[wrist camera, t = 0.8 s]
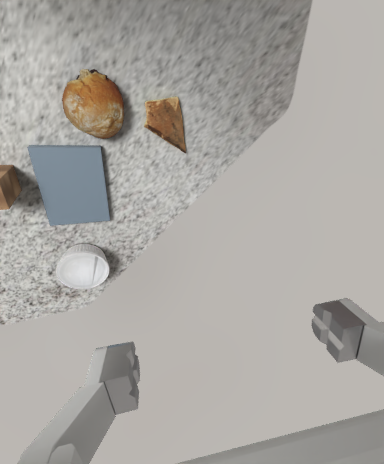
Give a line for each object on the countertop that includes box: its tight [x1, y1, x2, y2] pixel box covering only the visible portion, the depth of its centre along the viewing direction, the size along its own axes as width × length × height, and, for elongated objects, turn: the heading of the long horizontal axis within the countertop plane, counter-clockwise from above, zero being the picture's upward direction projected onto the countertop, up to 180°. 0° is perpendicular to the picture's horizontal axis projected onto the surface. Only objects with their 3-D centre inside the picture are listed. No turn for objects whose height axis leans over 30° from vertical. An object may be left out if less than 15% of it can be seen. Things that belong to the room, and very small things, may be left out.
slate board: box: [27, 145, 110, 226], centre depth 48 cm, size 16×12×2 cm
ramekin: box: [56, 244, 110, 289], centre depth 56 cm, size 11×11×5 cm
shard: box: [144, 96, 186, 153], centre depth 48 cm, size 11×8×2 cm
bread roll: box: [62, 69, 124, 139], centre depth 41 cm, size 10×10×8 cm
